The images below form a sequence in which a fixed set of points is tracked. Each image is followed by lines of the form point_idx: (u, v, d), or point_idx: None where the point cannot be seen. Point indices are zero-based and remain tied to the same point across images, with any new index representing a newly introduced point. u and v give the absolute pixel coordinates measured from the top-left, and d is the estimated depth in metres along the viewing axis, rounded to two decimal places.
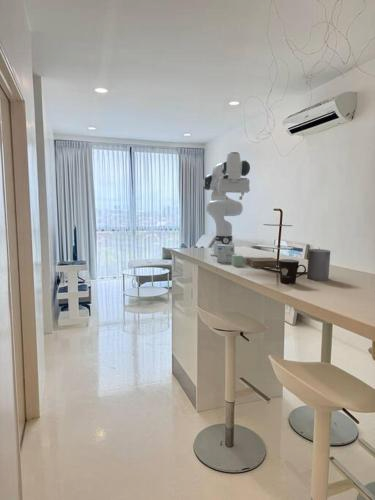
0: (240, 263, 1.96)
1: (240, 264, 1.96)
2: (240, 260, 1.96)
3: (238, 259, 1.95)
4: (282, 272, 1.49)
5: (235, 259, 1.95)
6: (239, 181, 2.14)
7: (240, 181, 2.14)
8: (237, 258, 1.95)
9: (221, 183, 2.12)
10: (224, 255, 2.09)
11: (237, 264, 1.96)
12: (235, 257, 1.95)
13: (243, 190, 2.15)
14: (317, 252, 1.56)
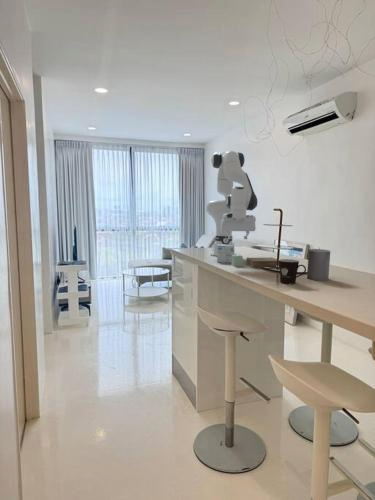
0: (240, 263, 1.96)
1: (240, 264, 1.96)
2: (240, 260, 1.96)
3: (238, 259, 1.95)
4: (282, 272, 1.49)
5: (235, 259, 1.95)
6: (244, 219, 1.94)
7: (245, 219, 1.94)
8: (237, 258, 1.95)
9: (224, 222, 1.92)
10: (224, 255, 2.09)
11: (237, 264, 1.96)
12: (235, 257, 1.95)
13: (248, 229, 1.95)
14: (317, 252, 1.56)
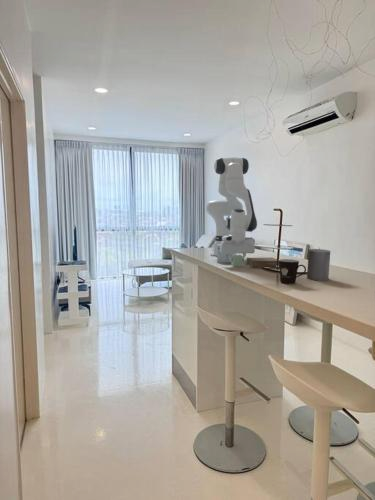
0: (240, 263, 1.96)
1: (240, 264, 1.96)
2: (240, 260, 1.96)
3: (238, 259, 1.95)
4: (282, 272, 1.49)
5: (235, 259, 1.95)
6: (243, 242, 1.95)
7: (245, 242, 1.96)
8: (237, 258, 1.95)
9: (224, 245, 1.94)
10: (224, 255, 2.09)
11: (237, 264, 1.96)
12: (235, 257, 1.95)
13: (247, 252, 1.96)
14: (317, 252, 1.56)
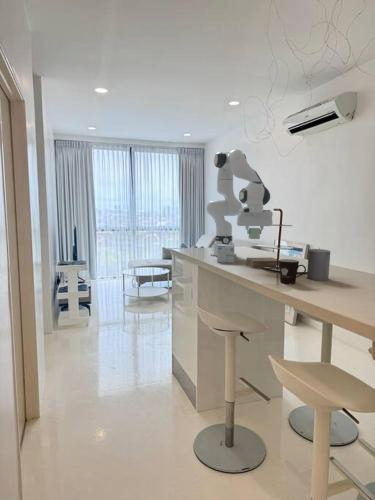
0: (258, 235, 1.93)
1: (258, 237, 1.93)
2: (258, 232, 1.93)
3: (256, 231, 1.93)
4: (282, 272, 1.49)
5: (253, 231, 1.93)
6: (261, 214, 1.93)
7: (262, 214, 1.93)
8: (255, 230, 1.93)
9: (241, 217, 1.91)
10: (224, 255, 2.09)
11: (255, 236, 1.93)
12: (253, 229, 1.92)
13: (265, 224, 1.94)
14: (317, 252, 1.56)
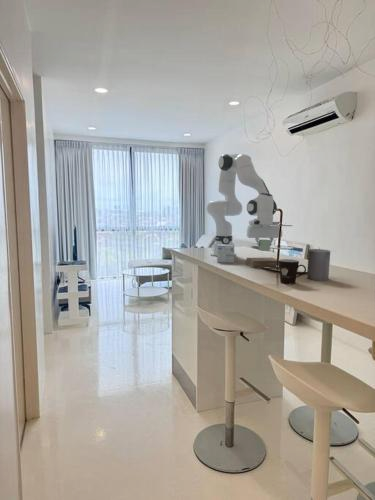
0: (268, 247, 1.94)
1: (268, 248, 1.94)
2: (268, 244, 1.93)
3: (266, 243, 1.93)
4: (282, 272, 1.49)
5: (263, 243, 1.93)
6: (271, 226, 1.93)
7: (272, 226, 1.93)
8: (265, 242, 1.93)
9: (251, 229, 1.92)
10: (224, 255, 2.09)
11: (265, 248, 1.93)
12: (263, 241, 1.93)
13: (275, 236, 1.94)
14: (317, 252, 1.56)
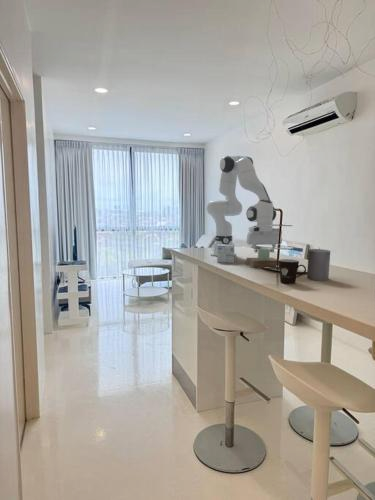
0: (267, 256, 1.94)
1: (267, 257, 1.95)
2: (267, 253, 1.94)
3: (265, 252, 1.94)
4: (282, 272, 1.49)
5: (262, 252, 1.94)
6: (271, 233, 1.94)
7: (272, 233, 1.94)
8: (264, 251, 1.94)
9: (251, 236, 1.92)
10: (224, 255, 2.09)
11: (264, 257, 1.94)
12: (262, 250, 1.94)
13: (275, 243, 1.95)
14: (317, 252, 1.56)
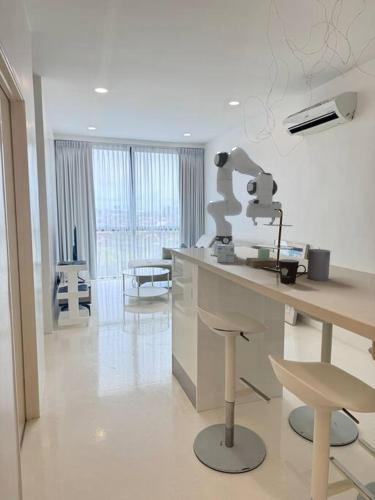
0: (267, 256, 1.94)
1: (267, 257, 1.95)
2: (267, 253, 1.94)
3: (265, 252, 1.94)
4: (282, 272, 1.49)
5: (262, 252, 1.94)
6: (270, 206, 1.93)
7: (271, 206, 1.93)
8: (264, 251, 1.94)
9: (251, 208, 1.91)
10: (224, 255, 2.09)
11: (264, 257, 1.94)
12: (262, 250, 1.94)
13: (274, 216, 1.94)
14: (317, 252, 1.56)
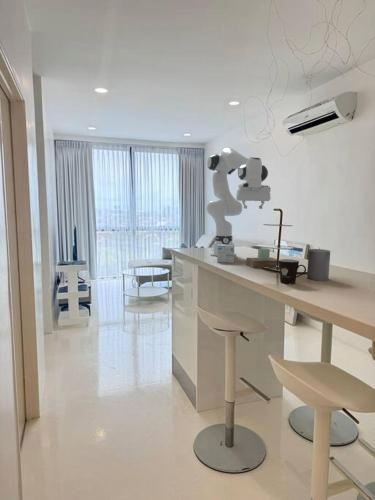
0: (267, 256, 1.94)
1: (267, 257, 1.95)
2: (267, 253, 1.94)
3: (265, 252, 1.94)
4: (282, 272, 1.49)
5: (262, 252, 1.94)
6: (260, 189, 2.00)
7: (261, 189, 2.00)
8: (264, 251, 1.94)
9: (240, 191, 1.99)
10: (224, 255, 2.09)
11: (264, 257, 1.94)
12: (262, 250, 1.94)
13: (263, 199, 2.01)
14: (317, 252, 1.56)
